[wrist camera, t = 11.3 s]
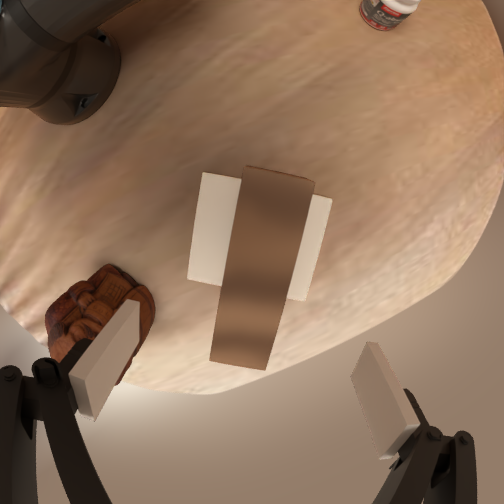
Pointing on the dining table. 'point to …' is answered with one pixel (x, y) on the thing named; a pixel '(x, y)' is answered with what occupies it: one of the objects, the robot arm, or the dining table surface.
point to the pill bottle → (386, 12)
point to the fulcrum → (220, 227)
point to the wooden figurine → (95, 311)
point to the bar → (259, 265)
